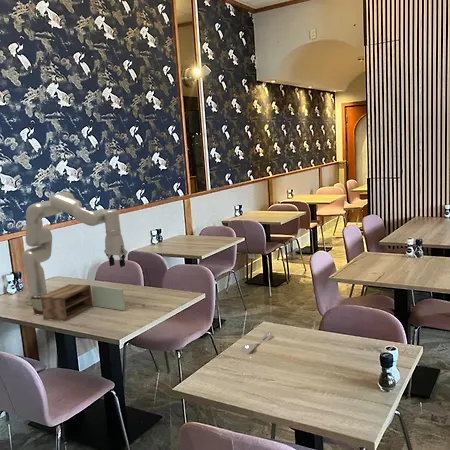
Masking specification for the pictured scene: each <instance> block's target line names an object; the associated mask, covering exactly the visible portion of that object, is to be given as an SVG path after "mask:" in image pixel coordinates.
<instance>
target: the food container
mask: <svg viewBox="0 0 450 450" xmlns="http://www.w3.org/2000/svg"><path fill="white" fill-rule="evenodd" d="M43 295H46V294H36V295H32V296H31V297H30V300H31V301H32V305H31V306H32V309H33V314H34V315H36V314H39V315H38V316H43V309H42V303H41V296H43Z"/></svg>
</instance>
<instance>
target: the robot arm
mask: <svg viewBox="0 0 450 450" xmlns="http://www.w3.org/2000/svg"><path fill="white" fill-rule="evenodd" d="M62 212H64V213H66V214H69V215H72V216H73V218H74V219H75V220H76V221H77V222H79V223H81V224H83V225H87V226H90V227H95V226H99V225H102V224H104V228H105V236H104V237H105V238H104V243H105V244H104V246H105V247H104V248H105V249H104V250H103V251H104V254H105V255H106V257H107V259H108V264H109V267H112V266H115V264H116V263H115V262H116V261H115V257H114V256H118V258H119V260H118V262H119V267H120V268H122V267H125V266H126V261H125V259H126V257H127V255H128V250H126V248H125V243H124V238H123V235H122V231H121V223H120V215H119V210H118V209H113V208H112V209H111V208H110V209H105V208H104V209H103V208H101V209H97V210H93V211H89V210H88V209H85V208H83V204H82V202H81V201H80V200H78V199H76V198H75V196H74V195H73V193H71V192H70V191H62V192H58V193H54V194H52V195H51V197H50V198H49V200H45V201H40V202H34V203H33V204H31V205H29V206H28V207H27V209H26V211H25V219H26V225H25V244H26V246H28V247H31V248H28V249H26V250H24V251H23V252H22V255H21V261H22V264H23V267H24V270H25V276H26V282H27V287H28V293H27V295H26V296H25V299H27V300H28V301H27V305H29V306H32V301H31V300H30V297H31V296H32V295H36V294H48V291H47V285H46V276H45V271H44V268H43V266H42V265H41V263H43V262H46V261H48V260H49V259H50V258H51V256H52V252H53V250H52V249H53V248H52V247H53V235H52V234H53V233H52V232H51V230H50V228H48V227H45V226H43V225H44V224H43V220H42V218H47V217H51V216H55V215H58V214H59V213H62Z"/></svg>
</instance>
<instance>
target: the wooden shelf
mask: <svg viewBox="0 0 450 450" xmlns="http://www.w3.org/2000/svg"><path fill="white" fill-rule="evenodd" d="M91 286H92V285H91V284H74V283H72V284H71V283H70V284H67V285H65V286H62V287H60V288H57V289H55V290H53V291H50V292H47V294H46V295H43V296H41V303H42V309H43V315H42V316H43V320H48V319H52V320H51V321H60V320H63V321H62V322H67V321H68V320H71V319H72V318H74V317H76V316H78V315H80V314H82V313H84V312H85V311H88V310H89V309H91V308H93V307H94V304H93V296H92V288H91ZM66 320H67V321H66Z"/></svg>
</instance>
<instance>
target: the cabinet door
mask: <svg viewBox="0 0 450 450" xmlns="http://www.w3.org/2000/svg"><path fill="white" fill-rule="evenodd" d="M90 286H91V294H92V302H93V307H101V308H106V309H112V310H118V311H125V310H126V305H125V298H124V295H125V294H124V289H123V288H119V287H110V286H102V285H95V284H93V285H90Z"/></svg>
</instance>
